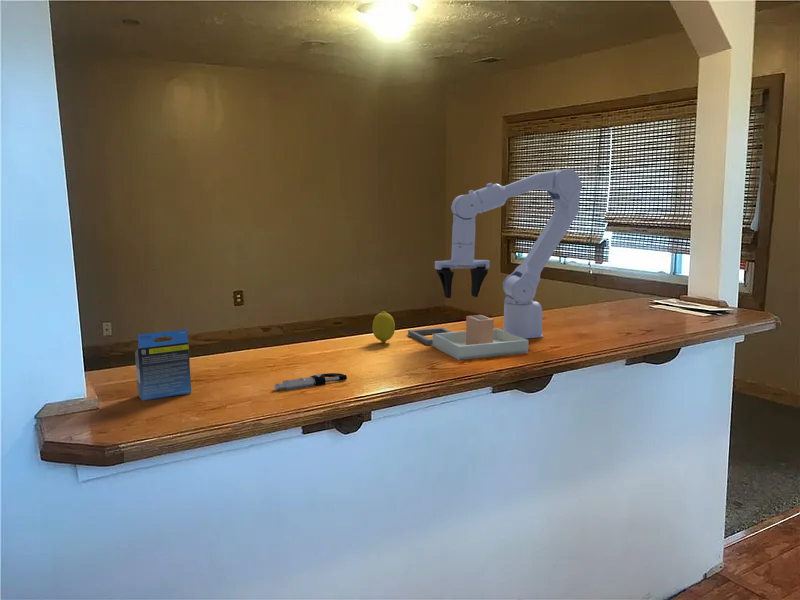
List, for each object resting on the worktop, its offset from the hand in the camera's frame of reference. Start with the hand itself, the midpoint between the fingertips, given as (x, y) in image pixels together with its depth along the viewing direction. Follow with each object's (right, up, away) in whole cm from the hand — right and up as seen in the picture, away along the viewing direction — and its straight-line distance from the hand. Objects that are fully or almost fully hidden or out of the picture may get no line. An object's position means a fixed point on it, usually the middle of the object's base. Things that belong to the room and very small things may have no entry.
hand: (461, 297), depth 168 cm
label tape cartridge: (-59, -18, -46) cm, 77 cm away
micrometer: (-34, -18, -37) cm, 53 cm away
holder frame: (-7, -11, 0) cm, 12 cm away
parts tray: (+3, -12, -11) cm, 17 cm away
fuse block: (+3, -12, -11) cm, 16 cm away
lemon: (-20, -12, -5) cm, 23 cm away
